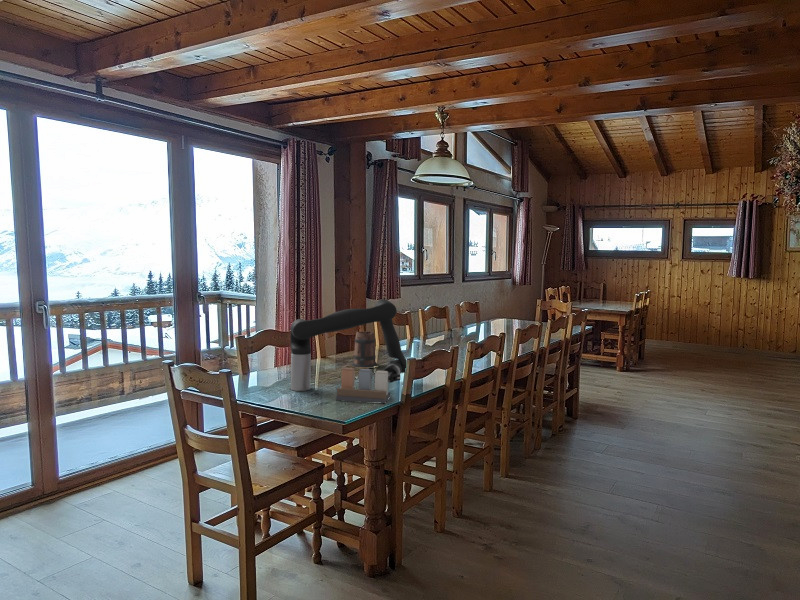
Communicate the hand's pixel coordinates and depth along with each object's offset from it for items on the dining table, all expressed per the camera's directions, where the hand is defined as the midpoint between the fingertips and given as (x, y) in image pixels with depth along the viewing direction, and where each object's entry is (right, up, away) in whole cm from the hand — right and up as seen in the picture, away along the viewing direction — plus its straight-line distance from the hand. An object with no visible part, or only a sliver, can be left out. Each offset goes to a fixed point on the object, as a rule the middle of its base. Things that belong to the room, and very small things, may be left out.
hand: (383, 380), depth 245 cm
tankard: (-13, -3, +70) cm, 71 cm away
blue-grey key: (-8, -5, 0) cm, 10 cm away
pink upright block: (-16, -5, +2) cm, 17 cm away
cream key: (-1, -6, -3) cm, 7 cm away
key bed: (-9, -8, -1) cm, 12 cm away
